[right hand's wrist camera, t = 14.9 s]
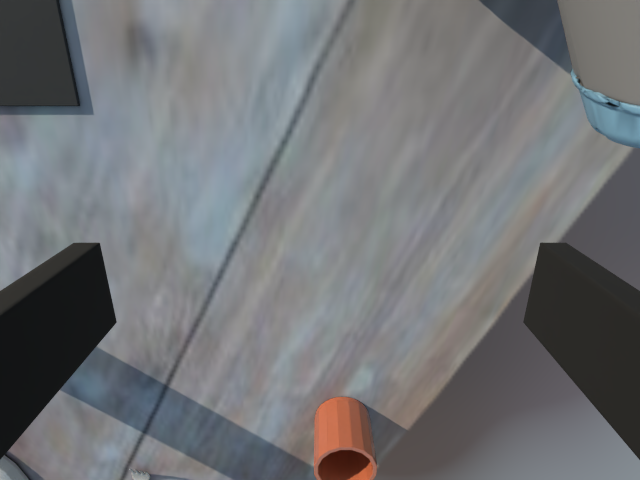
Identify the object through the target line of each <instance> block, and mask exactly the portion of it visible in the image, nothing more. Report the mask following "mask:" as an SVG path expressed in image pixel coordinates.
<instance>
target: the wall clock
mask: <svg viewBox="0 0 640 480" xmlns="http://www.w3.org/2000/svg"><path fill="white" fill-rule="evenodd" d="M0 480H29V479H28V478H27V477H26V475H25V474H24V473H23V472H22V471H21V469H20V468H19V467H18V466H17V465H16V464H15V463H14V462H13V461H11V460H10V459H9V458H8V457H6V456H5V455H4V456H3V457H2V458H1V459H0Z"/></svg>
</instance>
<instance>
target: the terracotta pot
mask: <svg viewBox="0 0 640 480" xmlns="http://www.w3.org/2000/svg"><path fill="white" fill-rule="evenodd" d="M376 473H377V462H376V456H375V449H374V442H373V435H372V429H371V422H370V417H369V413H368V410H367V409H366V407H365V406H364V405H363V404H362V403H361V402H359V401H358V400H356V399H353V398H349V397H336V398H332V399H329V400H327V401H326V402H324V403H323V404H322V405H320V407H319V408H318V409H317V411H316V414H315V436H314V475H315V477H316V479H317V480H373V479H374V478H375V476H376Z"/></svg>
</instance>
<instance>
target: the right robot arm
mask: <svg viewBox="0 0 640 480" xmlns="http://www.w3.org/2000/svg"><path fill="white" fill-rule="evenodd" d="M557 2H558V6H559V11H560V15H561V19H562V24H563V28H564V33H565V37H566V41H567V46H568V50H569V55H570V59H571V63H572V70H571V77H572V81H573V83H574V85H575V86H576V87H577V88H578V89H579V91H580V95H581V98H582V101H583V105H584V108H585V111H586V115H587V118H588V120H589V122H590V124H591V126H592V127H593V128H594V129H595V130H596V131H597V132H599V133H601V134H603V135H604V136H606V137H607V138H608V139H609V140H611V141H614V142H616V143H619V144H623V145H626V146H630V147H635V148H640V0H557ZM524 323H525V325H526V326H527V327H528V328H529V329H530V331H531V332H532V333H533V334H534V335H535V336H536V338H537V339H538V340H539V341H540V342H541V344H542V345H543V346H544V347H545V348H546V349H547V351H548V352H549V353H550V354H551V355H552V357H553V358H554V359H555V360H556V361H557V363H558V364H559V365H560V366H561V367H562V368H563V370H564V371H565V372H566V373H567V374H568V376H569V377H570V378H571V379H572V380H573V381H574V383H575V384H576V385H577V386H578V387H579V389H580V390H581V391H582V392H583V393H584V394H585V396H586V397H587V398H588V399H589V400H590V402H591V403H592V404H593V405H594V406H595V407H596V409H597V410H598V411H599V412H600V413H601V415H602V416H603V417H604V418H605V419H606V420H607V422H608V423H609V424H610V425H611V426H612V428H613V429H614V430H615V431H616V432H617V433H618V435H619V436H620V437H621V438H622V439H623V441H624V442H625V443H626V444H627V445H628V446H629V448H630V449H631V450H632V451H633V452H634V454H635V455H636V456H637V457H638V458H639V459H640V291H639V290H637V289H636V288H634V287H633V286H631V285H629V284H628V283H626V282H625V281H623V280H622V279H620V278H619V277H617V276H616V275H614V274H613V273H611V272H610V271H608V270H607V269H605V268H604V267H602V266H601V265H599V264H598V263H596V262H594V261H593V260H591V259H590V258H588V257H587V256H585V255H584V254H582V253H581V252H579V251H578V250H576V249H575V248H573V247H572V246H570V245H568V244H567V243H540V247H539V251H538V256H537V261H536V266H535V270H534V275H533V280H532V285H531V289H530V294H529V299H528V303H527V308H526V313H525V317H524ZM115 324H116V317H115V313H114V308H113V303H112V299H111V294H110V289H109V284H108V280H107V275H106V270H105V266H104V261H103V256H102V251H101V247H100V243H73V244H71V245H70V246H68V247H67V248H65V249H64V250H62V251H61V252H59V253H58V254H56V255H55V256H53V257H52V258H50V259H49V260H47V261H46V262H44V263H42V264H41V265H39V266H38V267H36V268H35V269H33V270H32V271H30V272H29V273H27V274H26V275H24V276H23V277H21V278H20V279H18V280H17V281H15V282H13V283H12V284H10V285H9V286H7V287H6V288H4V289H3V290H1V291H0V459H1V458H2V457H3V456H4V455H5V454H6V452H7V451H8V450H9V449H10V448H11V446H12V445H13V444H14V443H15V442H16V441H17V439H18V438H19V437H20V436H21V435H22V433H23V432H24V431H25V430H26V429H27V428H28V426H29V425H30V424H31V423H32V422H33V420H34V419H35V418H36V417H37V416H38V415H39V413H40V412H41V411H42V410H43V409H44V407H45V406H46V405H47V404H48V403H49V402H50V400H51V399H52V398H53V397H54V396H55V394H56V393H57V392H58V391H59V390H60V389H61V387H62V386H63V385H64V384H65V383H66V381H67V380H68V379H69V378H70V377H71V376H72V374H73V373H74V372H75V371H76V370H77V368H78V367H79V366H80V365H81V364H82V363H83V361H84V360H85V359H86V358H87V357H88V355H89V354H90V353H91V352H92V351H93V350H94V348H95V347H96V346H97V345H98V344H99V342H100V341H101V340H102V339H103V338H104V337H105V335H106V334H107V333H108V332H109V331H110V329H111V328H112V327H113V326H114V325H115Z"/></svg>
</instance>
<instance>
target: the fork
mask: <svg viewBox="0 0 640 480" xmlns="http://www.w3.org/2000/svg"><path fill="white" fill-rule="evenodd" d="M129 470H130V471H131V472H132V477H133V479H134V480H149V479H150V475H149V473H148V472H146V471H145V473H146V474H145V473H143V472H142V471H140V472H141V473H139V472H138V471H137V470H135V472H134V471H133V470H132V469H129Z"/></svg>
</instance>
